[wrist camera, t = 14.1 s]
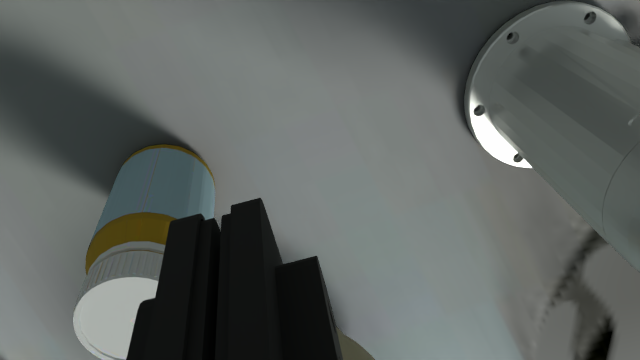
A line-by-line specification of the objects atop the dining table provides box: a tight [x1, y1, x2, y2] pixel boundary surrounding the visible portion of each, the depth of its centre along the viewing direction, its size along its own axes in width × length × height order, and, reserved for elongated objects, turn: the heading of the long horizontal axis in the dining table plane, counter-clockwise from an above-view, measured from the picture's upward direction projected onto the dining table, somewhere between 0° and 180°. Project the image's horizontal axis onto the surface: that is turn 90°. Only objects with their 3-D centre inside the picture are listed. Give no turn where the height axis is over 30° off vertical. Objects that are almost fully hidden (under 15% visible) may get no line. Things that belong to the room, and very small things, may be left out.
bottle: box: [73, 144, 215, 360], centre depth 35 cm, size 7×7×15 cm
